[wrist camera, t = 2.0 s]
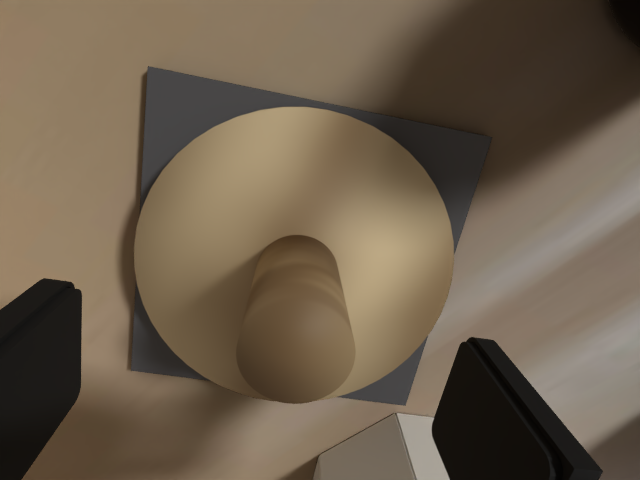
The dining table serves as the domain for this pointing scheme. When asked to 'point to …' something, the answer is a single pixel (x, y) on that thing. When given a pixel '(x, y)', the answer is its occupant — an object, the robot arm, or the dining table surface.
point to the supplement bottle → (628, 17)
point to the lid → (293, 254)
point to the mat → (235, 100)
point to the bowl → (386, 453)
